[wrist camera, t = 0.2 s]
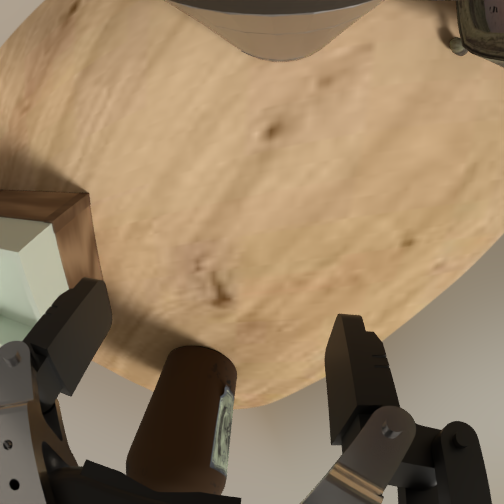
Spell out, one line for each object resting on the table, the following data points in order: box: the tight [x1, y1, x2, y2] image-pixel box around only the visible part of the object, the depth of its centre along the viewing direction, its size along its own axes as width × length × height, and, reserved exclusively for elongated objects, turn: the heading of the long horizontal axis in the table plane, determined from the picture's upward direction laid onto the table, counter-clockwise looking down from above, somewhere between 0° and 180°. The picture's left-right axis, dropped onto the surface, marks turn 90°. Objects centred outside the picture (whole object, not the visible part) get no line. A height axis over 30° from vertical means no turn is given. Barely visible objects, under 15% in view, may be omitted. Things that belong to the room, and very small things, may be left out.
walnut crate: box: [0, 190, 103, 289], centre depth 29 cm, size 15×15×6 cm
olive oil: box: [126, 346, 237, 495], centre depth 28 cm, size 11×11×25 cm
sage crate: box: [0, 217, 69, 347], centre depth 24 cm, size 15×15×5 cm
